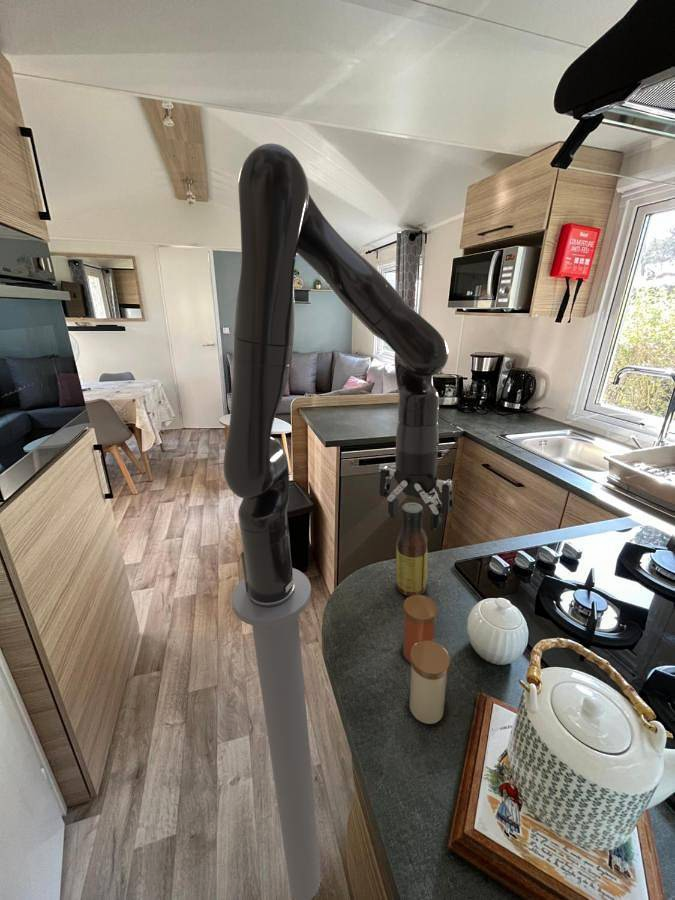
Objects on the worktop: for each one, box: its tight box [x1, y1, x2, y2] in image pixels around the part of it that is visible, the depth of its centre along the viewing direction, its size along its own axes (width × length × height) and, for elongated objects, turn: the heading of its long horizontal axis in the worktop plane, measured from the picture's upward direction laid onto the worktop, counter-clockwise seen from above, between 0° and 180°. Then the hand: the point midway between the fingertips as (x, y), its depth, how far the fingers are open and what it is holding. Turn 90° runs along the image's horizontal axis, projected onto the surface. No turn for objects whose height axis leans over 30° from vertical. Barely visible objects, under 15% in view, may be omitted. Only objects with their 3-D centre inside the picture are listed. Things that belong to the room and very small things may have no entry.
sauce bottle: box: [395, 502, 429, 597], centre depth 77 cm, size 6×6×20 cm
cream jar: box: [408, 641, 451, 725], centre depth 55 cm, size 5×5×10 cm
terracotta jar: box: [402, 594, 438, 664], centre depth 64 cm, size 5×5×10 cm
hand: (413, 522), depth 75 cm, fingers open, 8 cm apart
